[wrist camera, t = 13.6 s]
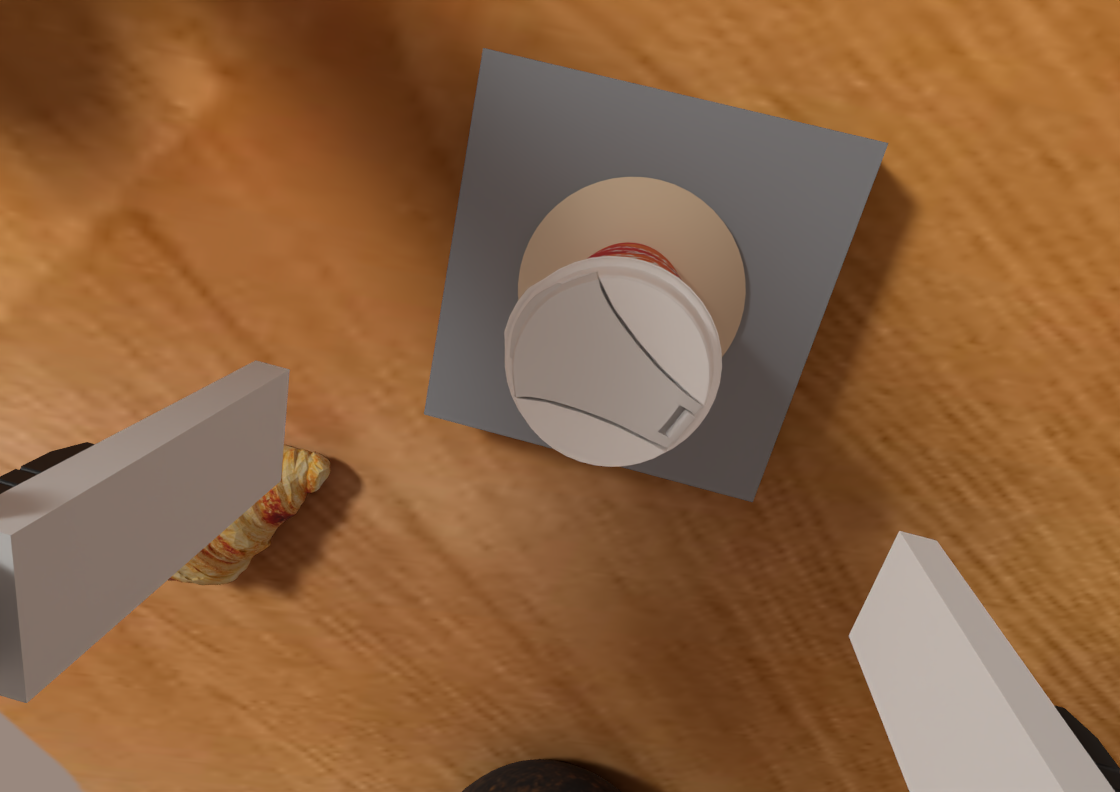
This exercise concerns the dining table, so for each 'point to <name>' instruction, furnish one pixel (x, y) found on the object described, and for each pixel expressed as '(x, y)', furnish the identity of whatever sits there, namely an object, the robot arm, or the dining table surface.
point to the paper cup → (613, 357)
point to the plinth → (648, 240)
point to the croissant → (257, 521)
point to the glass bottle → (541, 779)
